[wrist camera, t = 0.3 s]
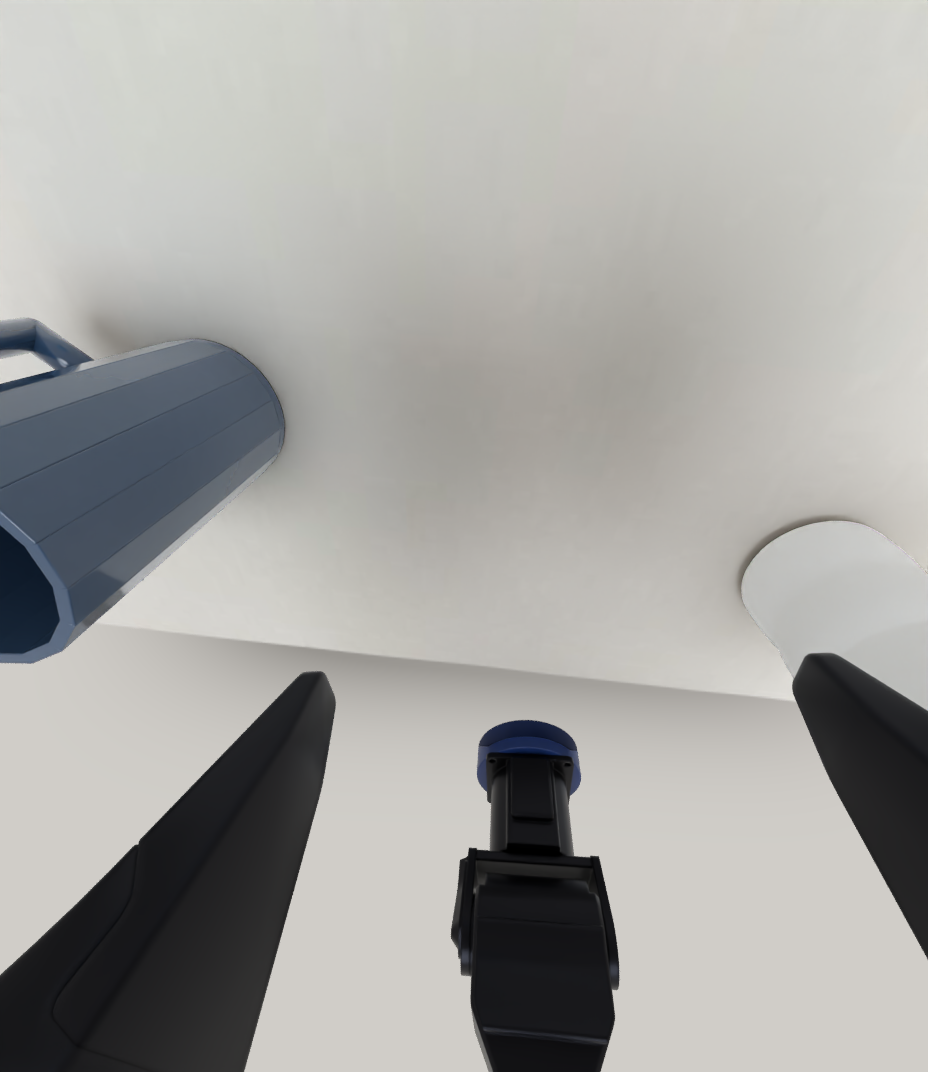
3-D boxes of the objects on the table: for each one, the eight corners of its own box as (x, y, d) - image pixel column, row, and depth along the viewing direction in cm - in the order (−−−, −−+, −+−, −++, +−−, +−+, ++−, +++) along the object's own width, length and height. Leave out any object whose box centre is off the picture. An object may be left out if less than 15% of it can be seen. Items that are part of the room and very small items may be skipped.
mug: (310, 408, 22) (106, 566, 11) (247, 499, 25) (38, 696, 14) (105, 246, 19) (-473, 232, 8) (62, 372, 22) (-396, 492, 11)
